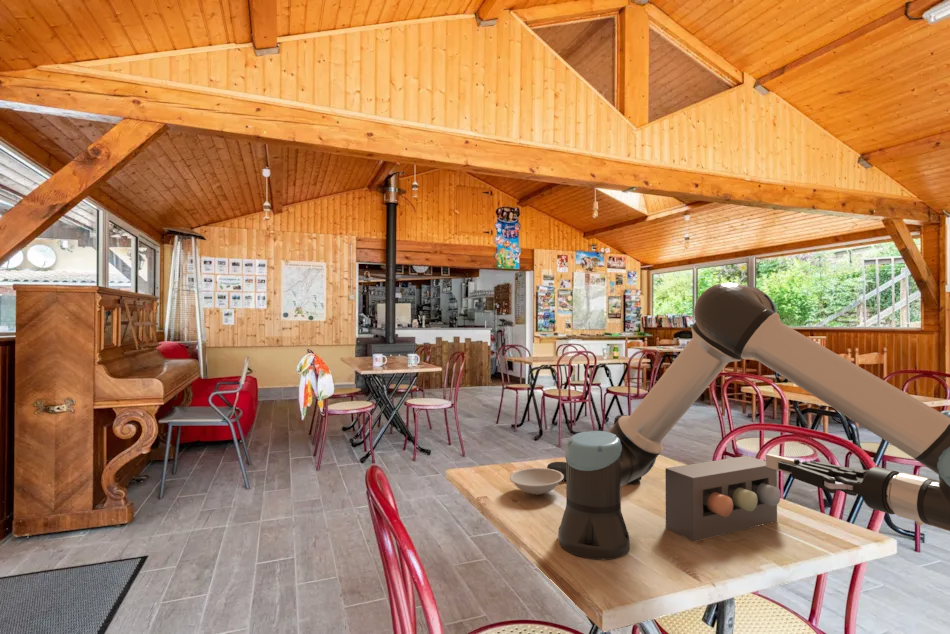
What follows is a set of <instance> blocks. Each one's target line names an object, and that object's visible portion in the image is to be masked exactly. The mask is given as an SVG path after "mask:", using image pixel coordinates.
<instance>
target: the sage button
mask: <svg viewBox="0 0 950 634" xmlns="http://www.w3.org/2000/svg"><path fill="white" fill-rule="evenodd" d="M728 497H730V498H731V499H732V501H733V503H734V505H735V506H737V507H739V508H742V509H744V510H747V511H753V510H754V509H755V508H756V506H757V502H758V498H757V495H756V493H754V492H752V491H749V490H746V489H743V488H737V489H736V490H734V489H731V488H729V489H728Z"/></svg>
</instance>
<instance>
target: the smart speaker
mask: <svg viewBox="0 0 950 634" xmlns="http://www.w3.org/2000/svg"><path fill="white" fill-rule="evenodd" d="M546 468H548V469H553V470H557V471H559V472H561V473H562V474H563V475H564V479H563V480H566V462H565V461H554V462H550V463H548V464H547V467H546Z"/></svg>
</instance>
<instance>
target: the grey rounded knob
mask: <svg viewBox="0 0 950 634" xmlns="http://www.w3.org/2000/svg"><path fill="white" fill-rule="evenodd" d="M752 492H754V493H756V495H757V498H758V501H760V502H763V503H765V504H768V505H771V506H776V505H777V506H778V504H779V503H780V501H781V490H780V488H778V487H774V486H771V485H768V484H765V483H761V484H760V485H759V486H758V485H755V484H752Z"/></svg>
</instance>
